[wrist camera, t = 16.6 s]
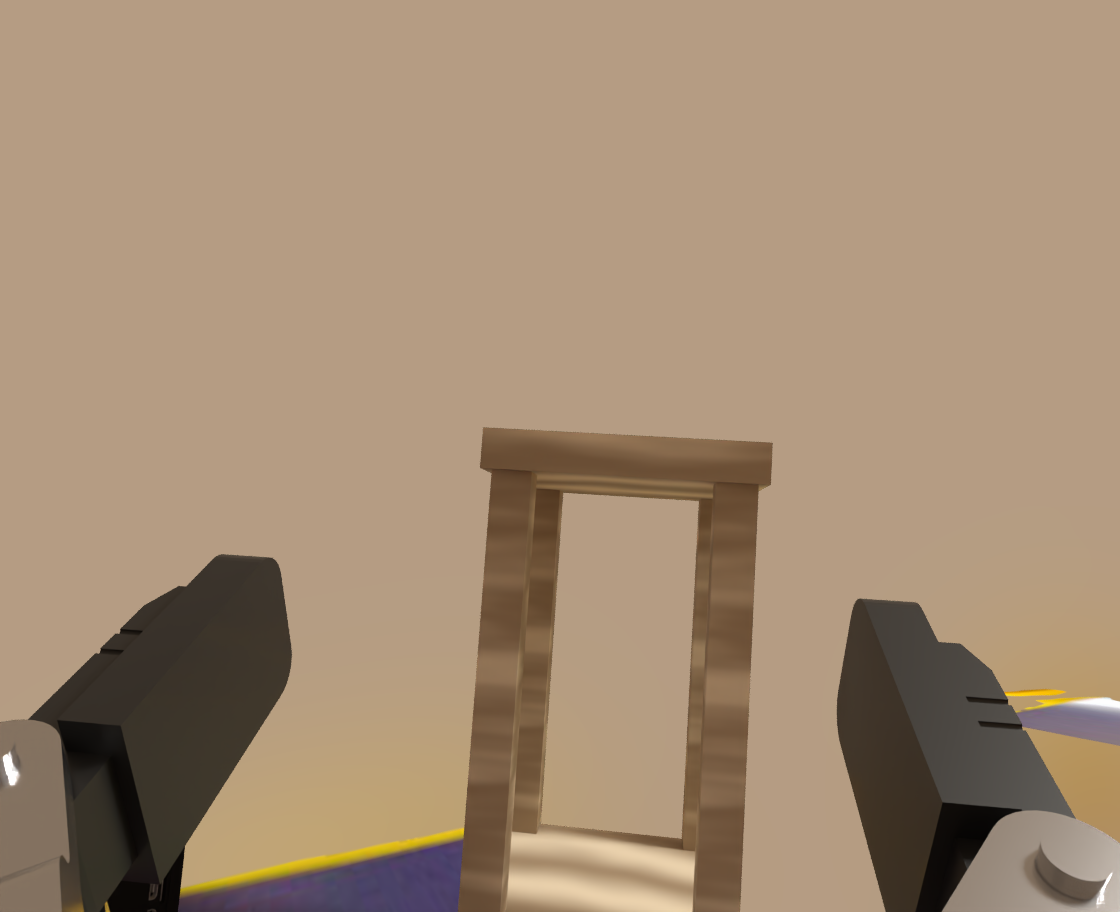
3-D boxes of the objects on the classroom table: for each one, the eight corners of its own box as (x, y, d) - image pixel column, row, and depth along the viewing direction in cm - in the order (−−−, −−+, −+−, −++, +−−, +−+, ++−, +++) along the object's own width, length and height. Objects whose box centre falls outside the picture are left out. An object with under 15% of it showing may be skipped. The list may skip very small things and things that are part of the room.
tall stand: (741, 1170, 37) (772, 442, 40) (428, 1123, 38) (483, 427, 42) (714, 984, 53) (738, 473, 56) (493, 956, 54) (529, 461, 58)
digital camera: (13, 928, 54) (28, 814, 55) (103, 904, 58) (115, 799, 59) (75, 993, 47) (90, 862, 48) (172, 961, 51) (185, 841, 52)
